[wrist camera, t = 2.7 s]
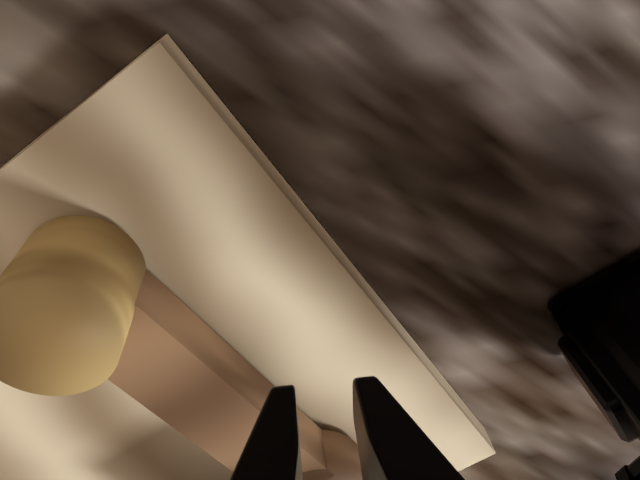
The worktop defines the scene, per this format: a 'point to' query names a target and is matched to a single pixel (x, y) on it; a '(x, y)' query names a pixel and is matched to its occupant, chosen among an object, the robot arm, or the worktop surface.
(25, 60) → the worktop surface
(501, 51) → the worktop surface
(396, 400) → the robot arm
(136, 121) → the pin board
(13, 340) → the walnut link
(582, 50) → the worktop surface
